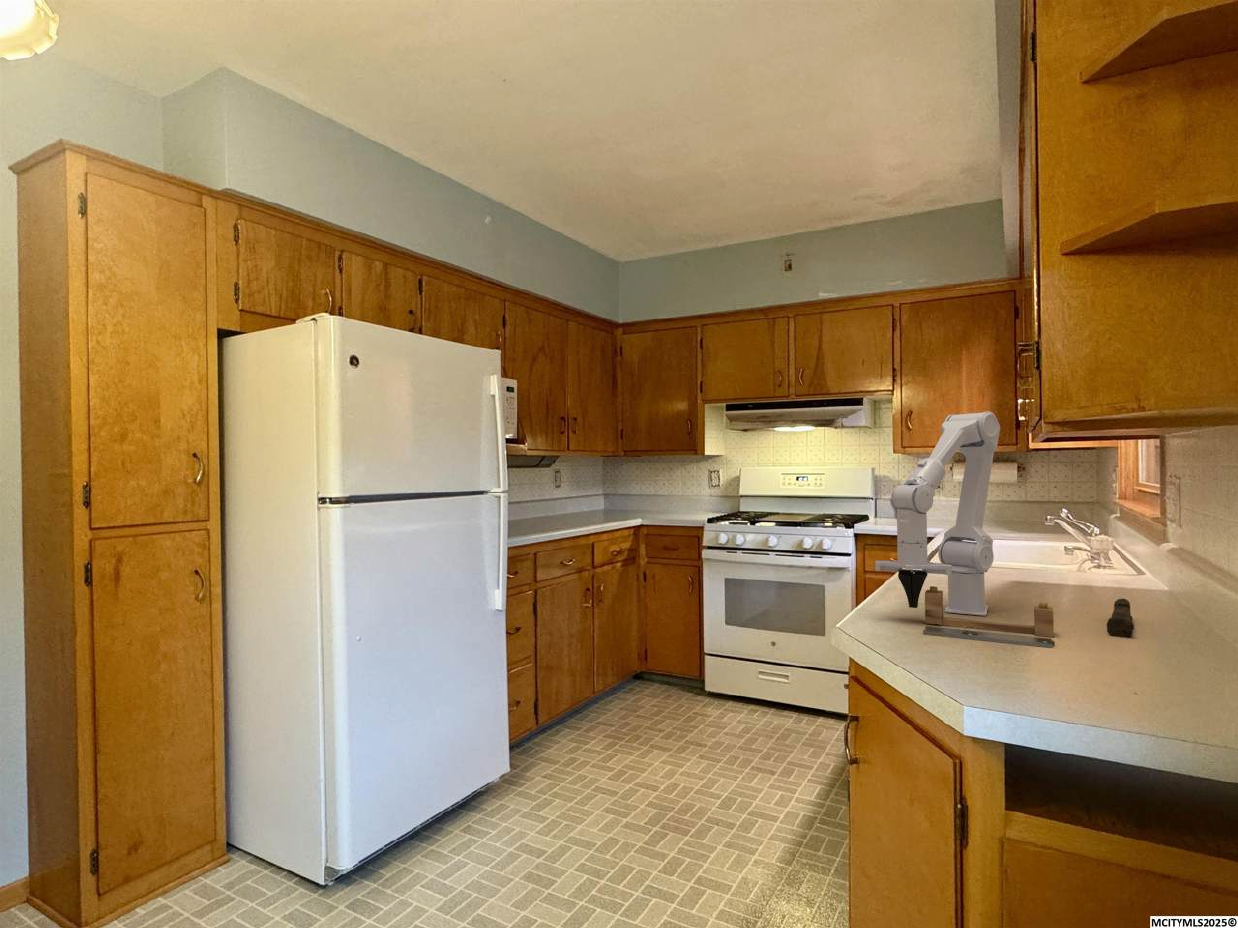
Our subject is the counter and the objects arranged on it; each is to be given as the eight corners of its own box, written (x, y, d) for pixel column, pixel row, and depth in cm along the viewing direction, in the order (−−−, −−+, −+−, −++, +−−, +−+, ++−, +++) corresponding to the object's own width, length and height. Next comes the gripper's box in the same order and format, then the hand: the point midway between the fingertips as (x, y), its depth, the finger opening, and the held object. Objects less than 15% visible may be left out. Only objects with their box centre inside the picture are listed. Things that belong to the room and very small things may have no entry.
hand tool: (1133, 640, 122) (1133, 615, 122) (1106, 636, 125) (1106, 612, 125) (1140, 621, 136) (1140, 598, 136) (1116, 618, 139) (1115, 596, 139)
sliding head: (927, 618, 139) (926, 584, 139) (943, 620, 137) (942, 585, 137) (925, 623, 135) (924, 587, 135) (941, 624, 134) (940, 589, 134)
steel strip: (925, 628, 132) (925, 625, 132) (1054, 642, 121) (1054, 638, 121) (923, 634, 128) (923, 630, 128) (1055, 648, 117) (1055, 644, 117)
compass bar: (930, 620, 138) (929, 592, 138) (1052, 632, 127) (1052, 601, 127) (928, 624, 135) (927, 595, 135) (1053, 637, 124) (1053, 605, 124)
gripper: (872, 542, 139) (873, 607, 139) (949, 545, 131) (950, 614, 131) (878, 539, 145) (879, 601, 145) (952, 541, 137) (953, 607, 137)
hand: (913, 606), depth 138 cm, fingers closed
